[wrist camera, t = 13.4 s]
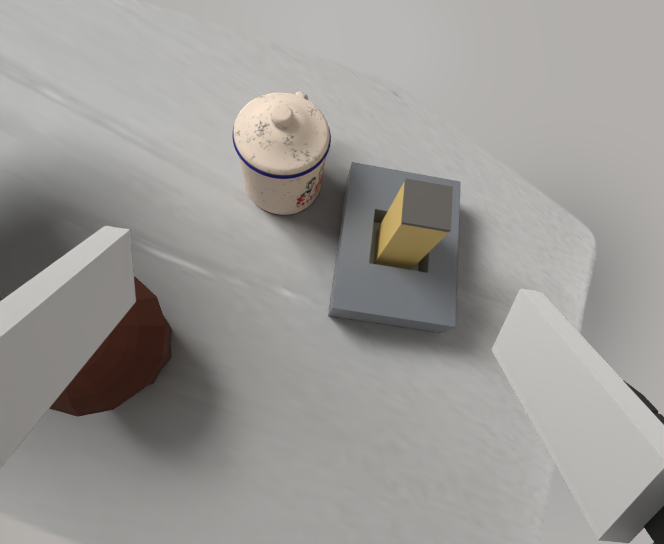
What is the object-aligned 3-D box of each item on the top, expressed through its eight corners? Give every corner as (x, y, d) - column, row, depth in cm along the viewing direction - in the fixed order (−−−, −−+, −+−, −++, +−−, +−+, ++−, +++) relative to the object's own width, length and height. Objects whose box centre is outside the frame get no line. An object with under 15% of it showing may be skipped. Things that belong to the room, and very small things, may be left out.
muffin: (202, 380, 37) (172, 377, 27) (81, 433, 35) (3, 449, 25) (163, 271, 40) (124, 233, 30) (48, 313, 37) (-34, 286, 28)
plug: (373, 264, 41) (402, 222, 31) (376, 230, 42) (406, 178, 32) (409, 270, 41) (450, 230, 31) (412, 236, 43) (452, 186, 32)
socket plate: (328, 315, 40) (332, 307, 36) (346, 181, 45) (352, 162, 41) (439, 332, 41) (455, 326, 37) (446, 199, 46) (460, 181, 42)
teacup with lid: (311, 227, 43) (318, 171, 32) (231, 204, 43) (211, 139, 32) (337, 140, 47) (353, 62, 35) (265, 118, 46) (257, 33, 35)
